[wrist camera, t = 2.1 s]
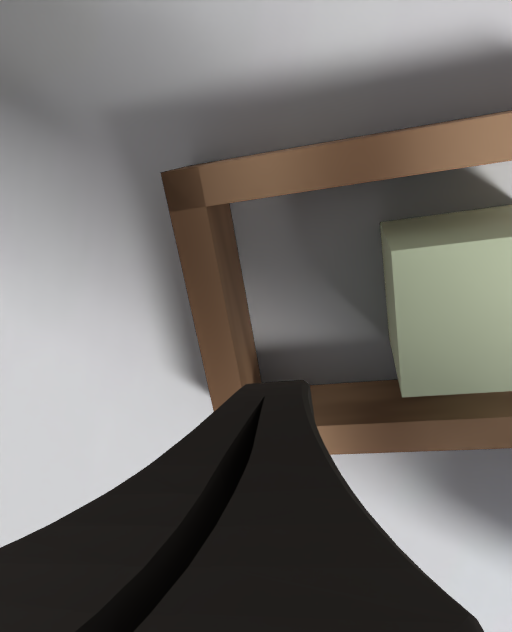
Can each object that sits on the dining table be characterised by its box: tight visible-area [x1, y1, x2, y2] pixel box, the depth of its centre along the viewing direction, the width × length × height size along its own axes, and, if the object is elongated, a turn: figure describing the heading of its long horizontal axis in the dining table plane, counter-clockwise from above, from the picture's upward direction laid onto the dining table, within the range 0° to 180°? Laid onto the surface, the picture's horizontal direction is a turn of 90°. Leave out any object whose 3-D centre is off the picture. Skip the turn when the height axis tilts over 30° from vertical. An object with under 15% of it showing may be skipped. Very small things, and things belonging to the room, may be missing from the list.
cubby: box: [161, 110, 512, 455], centre depth 16 cm, size 13×10×3 cm
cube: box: [380, 205, 512, 397], centre depth 15 cm, size 4×4×4 cm
